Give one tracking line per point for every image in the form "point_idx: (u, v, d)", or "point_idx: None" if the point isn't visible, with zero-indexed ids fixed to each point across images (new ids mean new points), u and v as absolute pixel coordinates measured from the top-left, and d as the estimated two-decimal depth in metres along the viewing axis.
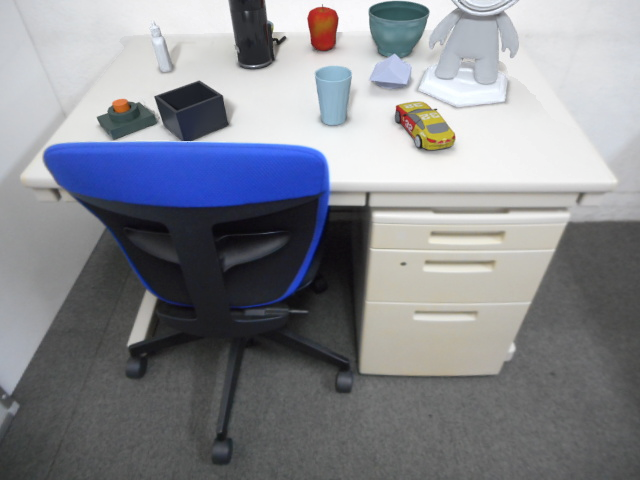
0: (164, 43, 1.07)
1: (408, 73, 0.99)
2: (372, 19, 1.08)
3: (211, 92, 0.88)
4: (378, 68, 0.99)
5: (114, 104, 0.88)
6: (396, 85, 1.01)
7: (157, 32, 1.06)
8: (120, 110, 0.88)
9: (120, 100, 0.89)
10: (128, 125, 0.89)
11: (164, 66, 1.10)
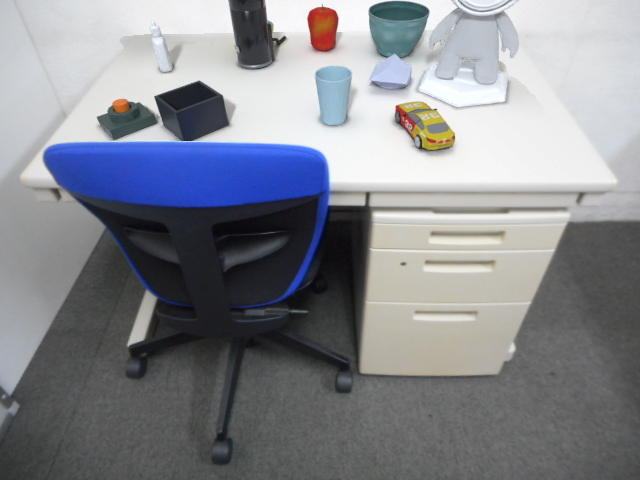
0: (164, 43, 1.07)
1: (408, 73, 0.99)
2: (372, 19, 1.08)
3: (211, 92, 0.88)
4: (378, 68, 0.99)
5: (114, 104, 0.88)
6: (396, 85, 1.01)
7: (157, 32, 1.06)
8: (120, 110, 0.88)
9: (120, 100, 0.89)
10: (128, 125, 0.89)
11: (164, 66, 1.10)
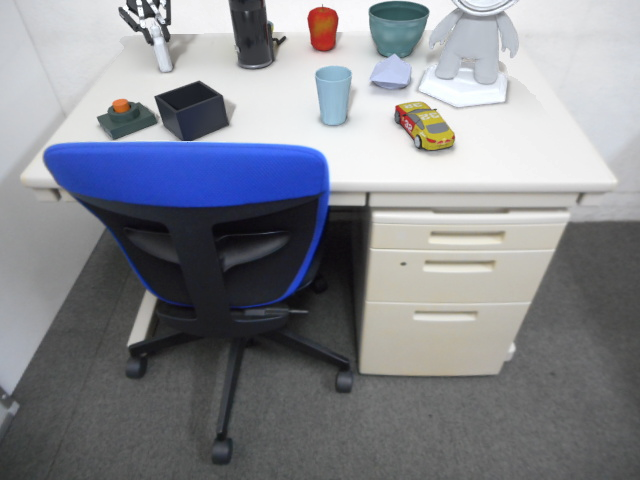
0: (164, 43, 1.07)
1: (408, 73, 0.99)
2: (372, 19, 1.08)
3: (211, 92, 0.88)
4: (378, 68, 0.99)
5: (114, 104, 0.88)
6: (396, 85, 1.01)
7: (157, 32, 1.06)
8: (120, 110, 0.88)
9: (120, 100, 0.89)
10: (128, 125, 0.89)
11: (164, 66, 1.10)
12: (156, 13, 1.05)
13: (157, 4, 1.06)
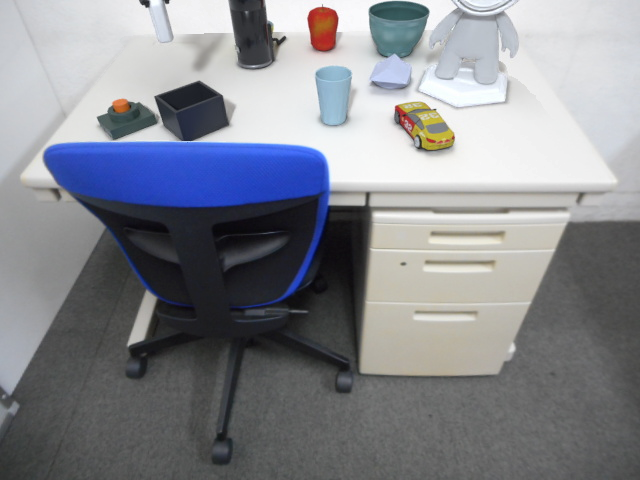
0: (163, 4, 0.84)
1: (408, 73, 0.99)
2: (372, 19, 1.08)
3: (211, 92, 0.88)
4: (378, 68, 0.99)
5: (114, 104, 0.88)
6: (396, 85, 1.01)
7: None
8: (120, 110, 0.88)
9: (120, 100, 0.89)
10: (128, 125, 0.89)
11: (163, 35, 0.87)
12: None
13: None
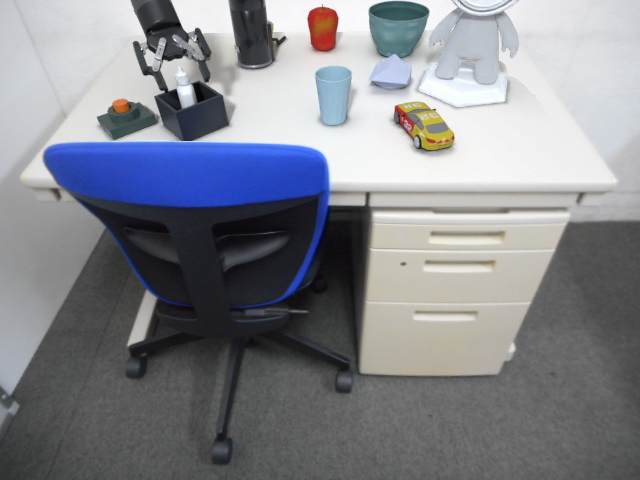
0: (193, 93, 0.85)
1: (408, 73, 0.99)
2: (372, 19, 1.08)
3: (211, 92, 0.88)
4: (378, 68, 0.99)
5: (114, 104, 0.88)
6: (396, 85, 1.01)
7: (184, 80, 0.83)
8: (120, 110, 0.88)
9: (120, 100, 0.89)
10: (128, 125, 0.89)
11: None
12: (190, 50, 0.83)
13: None
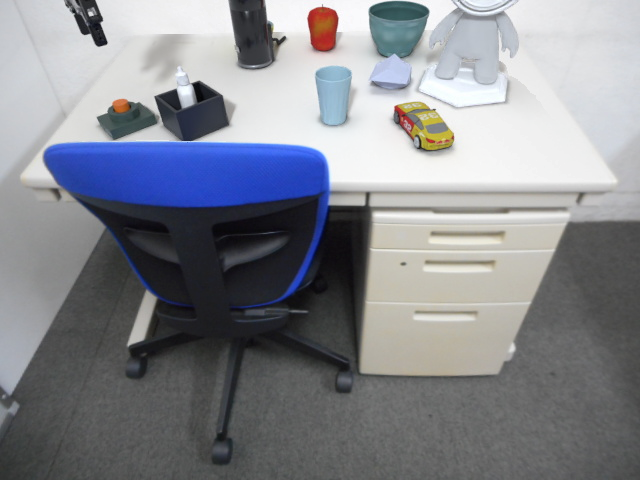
0: (193, 93, 0.85)
1: (408, 73, 0.99)
2: (372, 19, 1.08)
3: (211, 92, 0.88)
4: (378, 68, 0.99)
5: (114, 104, 0.88)
6: (396, 85, 1.01)
7: (184, 80, 0.83)
8: (120, 110, 0.88)
9: (120, 100, 0.89)
10: (128, 125, 0.89)
11: None
12: None
13: None
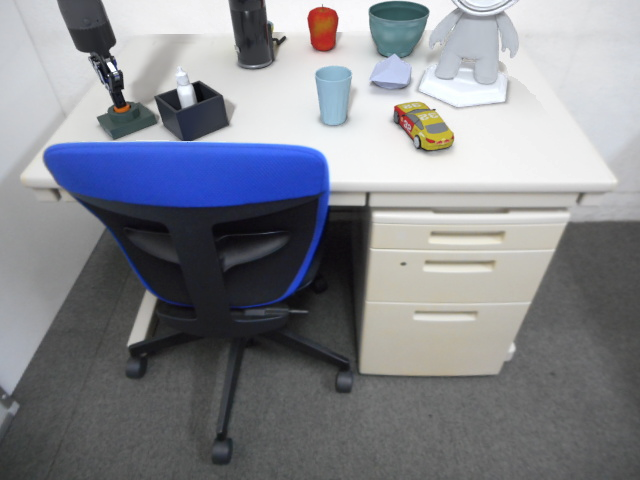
0: (193, 93, 0.85)
1: (408, 73, 0.99)
2: (372, 19, 1.08)
3: (211, 92, 0.88)
4: (378, 68, 0.99)
5: (116, 108, 0.89)
6: (396, 85, 1.01)
7: (184, 80, 0.83)
8: None
9: None
10: (128, 125, 0.89)
11: None
12: None
13: None
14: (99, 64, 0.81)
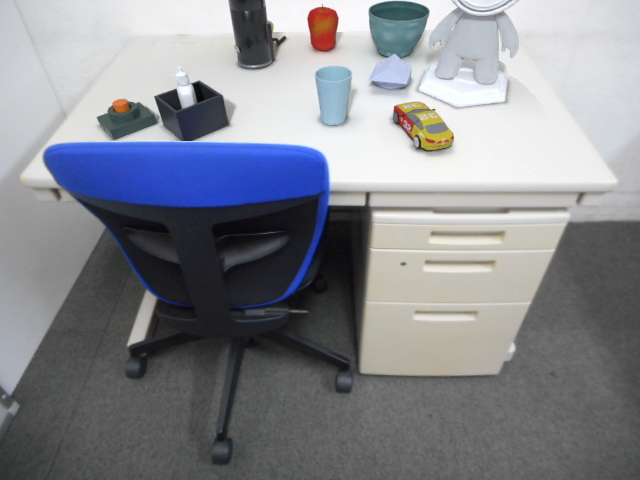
0: (193, 93, 0.85)
1: (408, 73, 0.99)
2: (372, 19, 1.08)
3: (211, 92, 0.88)
4: (378, 68, 0.99)
5: (114, 104, 0.88)
6: (396, 85, 1.01)
7: (184, 80, 0.83)
8: (120, 110, 0.88)
9: (120, 100, 0.89)
10: (128, 125, 0.89)
11: None
12: None
13: None
14: None
